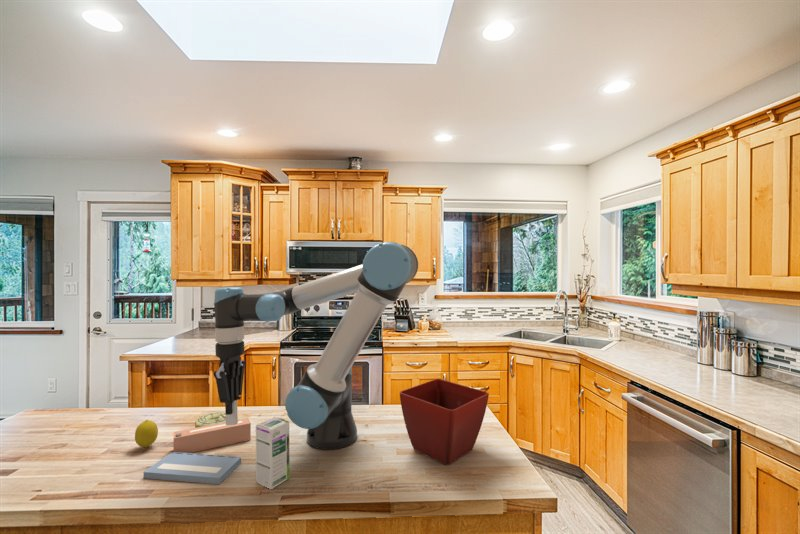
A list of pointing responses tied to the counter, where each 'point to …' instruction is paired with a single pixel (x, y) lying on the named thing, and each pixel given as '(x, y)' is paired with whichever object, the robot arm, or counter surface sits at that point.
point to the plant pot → (443, 418)
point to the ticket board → (193, 467)
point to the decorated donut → (210, 419)
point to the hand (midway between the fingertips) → (231, 423)
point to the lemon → (146, 433)
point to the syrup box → (272, 452)
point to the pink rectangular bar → (211, 436)
